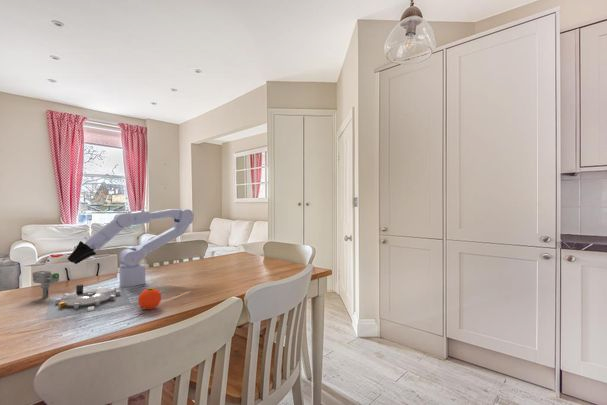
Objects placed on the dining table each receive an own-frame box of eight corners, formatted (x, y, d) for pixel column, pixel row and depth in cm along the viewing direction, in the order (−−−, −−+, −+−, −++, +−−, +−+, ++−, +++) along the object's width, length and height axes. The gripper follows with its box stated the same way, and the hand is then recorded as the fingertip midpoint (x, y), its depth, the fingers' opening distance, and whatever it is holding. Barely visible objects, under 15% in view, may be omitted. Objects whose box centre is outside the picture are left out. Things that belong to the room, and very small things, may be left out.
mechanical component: (52, 302, 100) (52, 274, 100) (29, 299, 103) (30, 272, 102) (60, 299, 103) (61, 272, 103) (39, 296, 105) (39, 270, 105)
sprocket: (131, 294, 106) (131, 283, 106) (77, 312, 89) (77, 298, 89) (99, 288, 113) (99, 277, 113) (42, 304, 95) (43, 291, 95)
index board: (121, 289, 116) (122, 285, 116) (130, 306, 97) (130, 302, 97) (50, 300, 102) (50, 296, 102) (44, 323, 83) (45, 318, 83)
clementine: (140, 305, 99) (141, 285, 99) (162, 303, 101) (162, 283, 101) (136, 314, 91) (136, 292, 91) (159, 311, 94) (160, 290, 94)
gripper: (97, 232, 118) (66, 256, 111) (93, 225, 106) (58, 252, 99) (111, 243, 120) (81, 268, 113) (108, 238, 108) (74, 265, 101)
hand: (71, 261), depth 106 cm, fingers open, 7 cm apart
